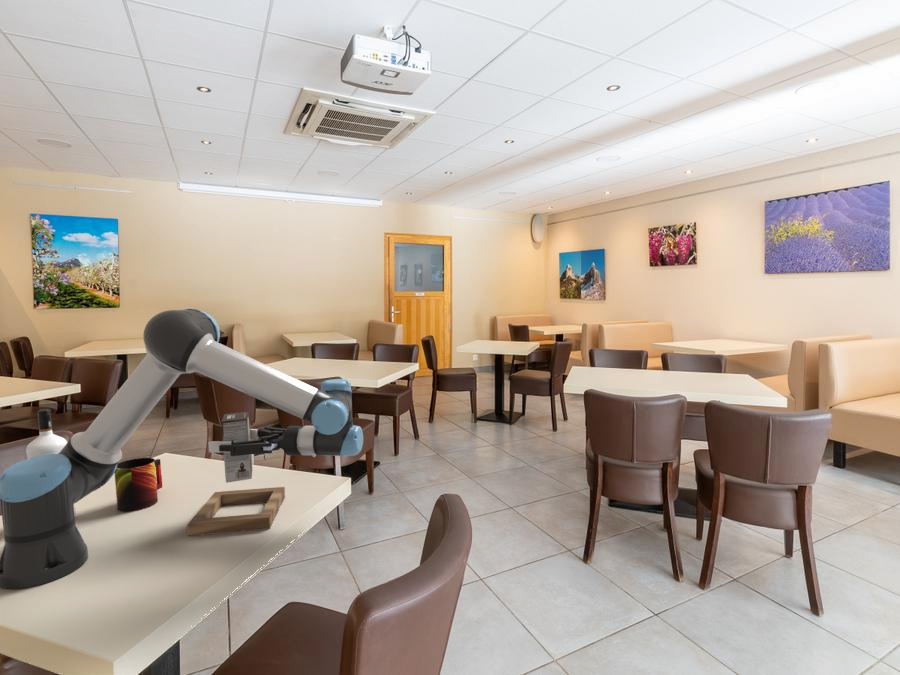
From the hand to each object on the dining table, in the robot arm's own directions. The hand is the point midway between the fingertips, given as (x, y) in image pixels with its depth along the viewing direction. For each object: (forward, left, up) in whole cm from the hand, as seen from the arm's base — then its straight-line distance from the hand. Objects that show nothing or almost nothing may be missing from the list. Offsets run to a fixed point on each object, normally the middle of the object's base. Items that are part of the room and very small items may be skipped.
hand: (222, 440), depth 129 cm
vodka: (+4, +44, -20) cm, 49 cm away
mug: (+14, +28, -20) cm, 37 cm away
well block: (-1, -4, -20) cm, 21 cm away
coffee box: (-1, -4, -10) cm, 11 cm away
